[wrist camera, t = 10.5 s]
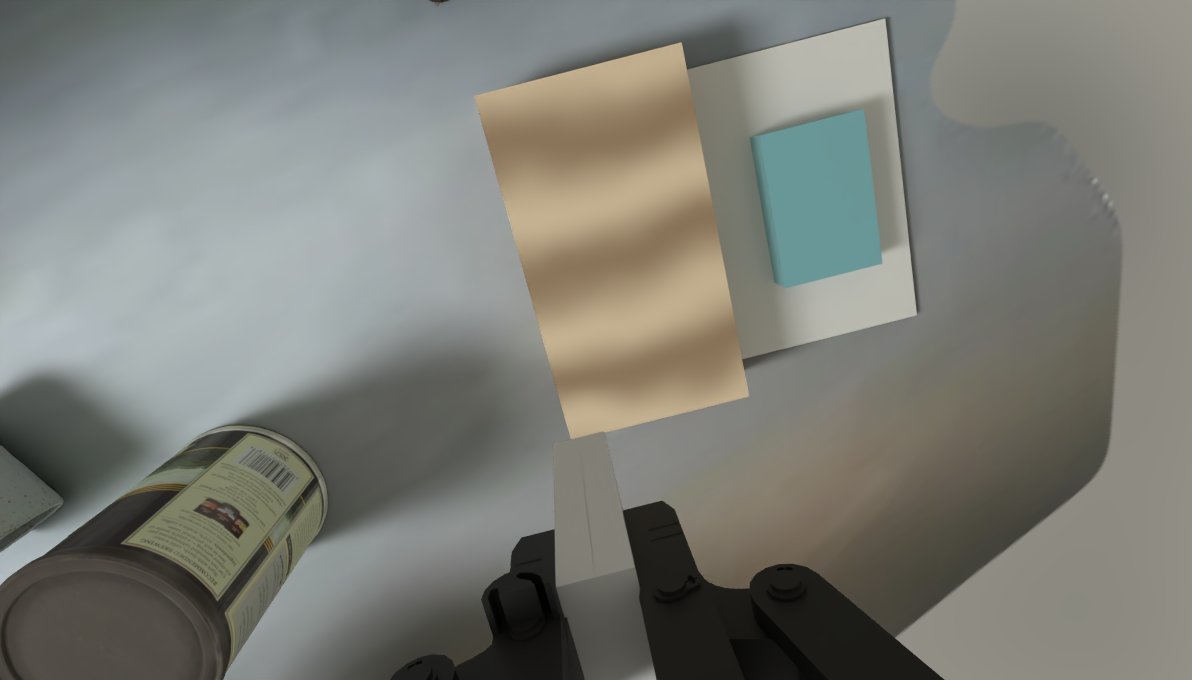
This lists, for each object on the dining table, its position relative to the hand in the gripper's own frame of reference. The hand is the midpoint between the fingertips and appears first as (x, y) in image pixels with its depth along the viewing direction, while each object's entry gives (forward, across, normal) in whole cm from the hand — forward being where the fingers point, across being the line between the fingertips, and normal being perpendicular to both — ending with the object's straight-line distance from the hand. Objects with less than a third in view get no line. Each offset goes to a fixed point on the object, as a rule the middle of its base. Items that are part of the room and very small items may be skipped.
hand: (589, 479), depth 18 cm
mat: (+22, -16, -4) cm, 27 cm away
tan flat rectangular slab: (+22, -4, -4) cm, 23 cm away
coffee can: (+23, +23, +7) cm, 34 cm away
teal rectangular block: (+20, -16, -4) cm, 26 cm away
